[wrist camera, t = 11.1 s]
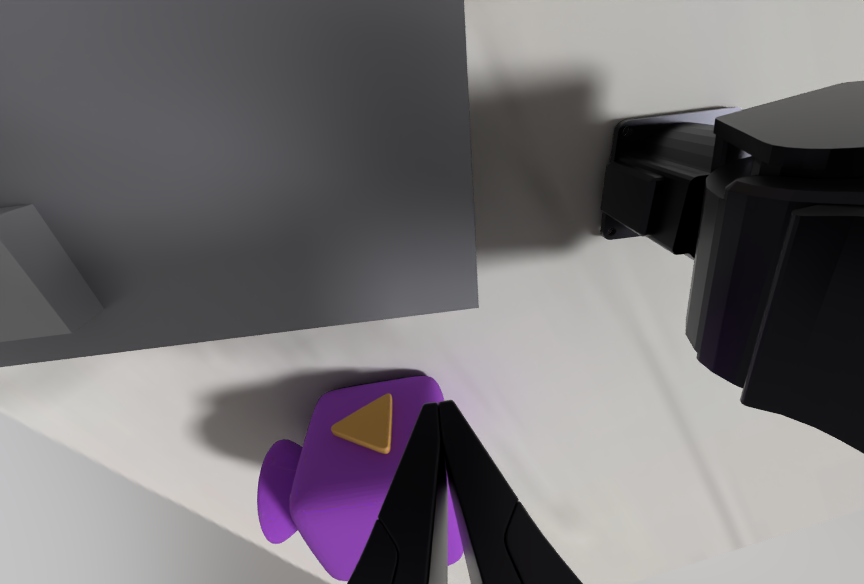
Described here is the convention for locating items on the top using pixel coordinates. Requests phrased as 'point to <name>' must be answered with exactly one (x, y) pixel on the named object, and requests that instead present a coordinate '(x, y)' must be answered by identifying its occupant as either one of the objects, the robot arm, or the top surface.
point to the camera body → (228, 170)
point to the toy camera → (344, 471)
